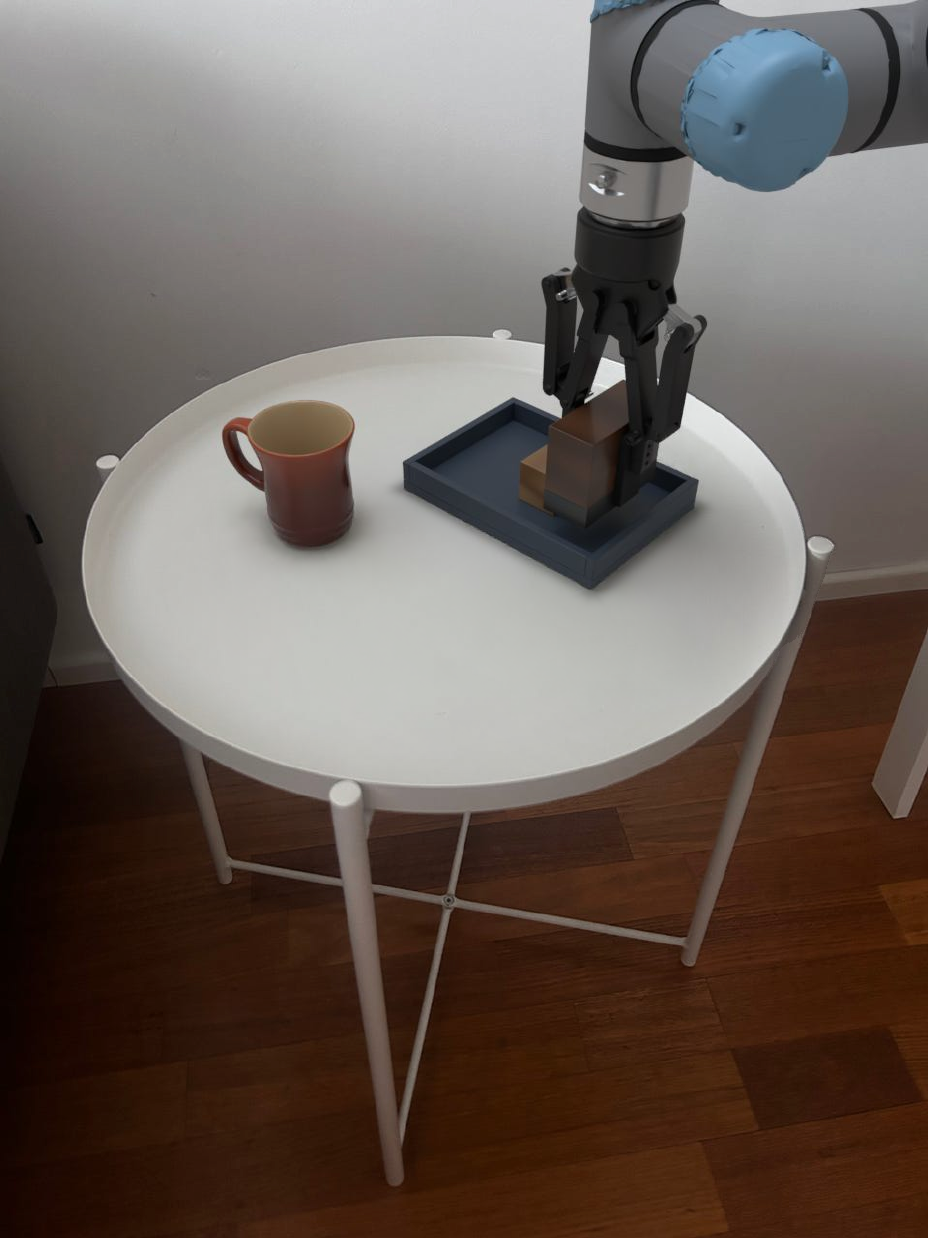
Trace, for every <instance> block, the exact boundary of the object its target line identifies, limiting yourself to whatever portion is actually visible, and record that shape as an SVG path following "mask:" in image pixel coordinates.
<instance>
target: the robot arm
mask: <svg viewBox="0 0 928 1238" xmlns="http://www.w3.org/2000/svg"><path fill="white" fill-rule="evenodd" d="M720 1H721V0H594V3H593V10H592V11H591V13H590V14H589V15H590V16H589V23H590V34H589V35H590V37H589V51H588V67H587V80H586V81H587V82H586V97H585V98H586V99H585V112H584V113H585V114H584V132H583V142H582V155H581V167H580V178H579V179H580V180H579V190H578V191H579V193H578V199H579V202H580V204H581V205H582V206H581V208H579V210H578V211H577V213H576V225H575V240H574V252H573V256H574V261H575V262H576V264H575V266H574V268H573V269H572V270H571V269H570V268H569V267H565V266H564V267H563V268H560V269H558V270H556V271H554V272H552V273H550V274H547V275H546V276H544V277H543V278H542V279H541V282H540V284H541V290H542V294H543V299H544V303H545V328H544V348H543V350H544V351H543V370H542V391H543V392H544V394H545V395H546V396H549V397H550V396H554V397H555V398H556V399H557V400H558V402H559V406H560V408H561V418H562V417H564V416H565V415H567V414H569V413H570V412H572V411H573V410H575V409H577V408H578V407H580V406H581V405H583V404H585V403H586V400H587V399H589V398H590V397H592V396H594V394H595V392H594V391H593V392H592V387H593V384H594V381H595V379H596V376H597V374H598V373H597V372H598V370H599V367H600V364H601V360H602V357H603V354H604V351H605V350H606V345H607V342H608V339H609V337H610V336H611V338H614V339H615V340H616V341H618V351H619V356H620V357H621V358H623V364H624V377H625V378H624V379H625V380H626V391H627V404H628V417H629V429H630V431H628V432H627V433H626V434H624V435H623V436H621V438H620V446H619V454H618V462H617V470H616V478H615V486H614V494H613V502H612V504H613V505H615V506H617V507H619V508H620V507H621V506H622V505H624V504H625V503H626V502H628V501H629V500H630V499H632V498H633V497H634V496H636V495H637V494H638V492H639V485H640V478H641V472H643V471H644V470H645V469H647V468H648V467H649V466H650V464H651V461H652V455H653V448H654V442H656V443H659V444H660V443H663V442H664V441H665V440H666V439H668V438H670V437H671V436H672V435H673V434H675V433H676V432H677V431H679V430H680V429H681V427H682V421H683V416H684V415H683V414H684V409H685V406H686V405H685V404H686V399H687V394H688V389H689V385H690V384H689V383H690V378H691V372H692V367H693V363H694V356H695V351H696V346H697V344H698V342H699V341H700V340H701V337H702V336H703V334H704V332H705V331H706V329H707V327H708V321H707V318H706V317H705V316H704V315H702V314H696V315H694V316H691V315H690V314H689V313H688V312H686V311H685V310H684V309H683V308H682V307H681V306H679V304H677V303H678V297H677V296H678V295H677V292H676V289H675V278H676V273H677V271H678V268H679V265H680V260H681V253H682V247H683V240H684V233H685V226H686V217H685V216H684V214H683V212H684V211H686V209H687V208H688V206H689V203H690V202H689V201H690V196H691V195H690V194H691V187H692V179H693V173H694V165H695V162H696V164H698V165H699V166H701V167H702V169H703V170H704V171H706V172H709V173H710V174H711V175H713V176H714V177H715V178H716V177H717V178H718V177H719V178H720V177H721V178H722V179H723V180H724V181H726V183H727V182H729V183H733V184H736V185H738V186H740V187H742V188H744V189H746V190H749V191H752V192H759V193H772V192H778V191H783V190H786V189H789V188H791V187H792V186H794V185H796V183H797V182H798V181H800V180H801V179H802V178H804V177H805V176H807V175H809V174H810V173H813V172H814V171H816V169H818V168H819V167H820V166H821V165H822V164H823V163H824V162H825V161H826V159H827V158H830V157H831V158H832V157H838V156H843V155H846V154H847V155H848V154H857V153H859V152H866V151H873V150H880V149H881V150H882V149H890V148H899V147H907V146H914V145H922V144H923V145H924V144H928V0H914V1H911V2H905V3H898V4H890V5H889V4H888V5H879V6H878V5H877V6H871V7H869V6H868V7H858V8H850V9H843V10H842V9H841V10H828V11H819V12H817V11H816V12H806V13H793V14H785V15H774V16H754V15H753V16H752V15H747V14H745V13H741V12H738V11H736V10H732V9H730V8H727V7H726V6H724V5H723V4H720ZM578 301H579V303H580V306H581V308H582V310H583V311H582V314H581V317H580V319H579V324H578V327H577V318H578V317H577V315H578ZM663 321H665V325H666V328H665V329H666V330H665V334H664V335H663V339H664V341H665V342H666V345H665V347H664V350H663V353H662V358H661V364H660V368H659V369H660V370H659V376H658V367H657V365H658V364H657V347H658V344H659V343H660V342H659V341H660V334H659V325H660V324H661V323H663ZM576 336H577V342H576ZM575 344H576V345H575Z"/></svg>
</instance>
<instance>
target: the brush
mask: <svg viewBox="0 0 928 1238" xmlns="http://www.w3.org/2000/svg"><path fill="white" fill-rule="evenodd" d="M560 418H561V419H559V420H558V421H556V422H554V423H553V424H551V425H550V426H549V432H548V447H547V462H546V476H545V489H544V504H543V508H544V509H546V510H548V511H550V512H552V513H553V514H555V515H557V516H559V517H561V518H563V519H565V520H567V521H569V522H571V523H573V524H575V525H577V526H579V527H581V528H583V529H586V528H588V527H589V526H590V525H592V524H593V523H594V522H596V521H597V520H598V519H600V518H601V517H602V516H604V515H605V514H606V513H608V512H609V511H610V510H612V509H613V508H615V507H616V506H615V505H613V504H612V502H613V494H614V486H615V478H616V470H617V462H618V454H619V446H620V438H621V436H623V435H624V434H626V433H627V432H628V431H630V429H629V417H628V404H627V391H626V379H625V378H624V379H621V380H619V381H618V382H616V383H614V384H612V385H611V386H610V387H608V388H606V389H605V390H603V391H602V392H600V393H599V394H597V395H596V396H593V398H591V399H590V400H587V401H585V404H583V405H581V406H580V407H578V408H577V409H575V410H573V411H572V412H570V413H569V414H567V415H565V416H564V417H562V416H561V417H560ZM659 447H660V443H656V442H654V448H653V455H652V461H651V464H650V466H649V467H648V468H647V469H645V470H644V471H643V472H641V478H640V485H639V489H640V488H641V487H643V486H644V485H645V484H647V483H648V482H649V481H651V480H652V479H653V478H654V475H655V469H656V462H657V461H658V454H659Z"/></svg>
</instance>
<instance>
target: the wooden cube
mask: <svg viewBox="0 0 928 1238" xmlns="http://www.w3.org/2000/svg"><path fill="white" fill-rule="evenodd" d="M547 447H548V444H547V445H545V446H544V447H542V448H541V449H539V450H538V451H536V452H535V453H533V454H531V455H530V456H528V457H527V458H525V459H524V460H522V461H521V464H520V485H519V499H521V500H523V501H525V502H527V503H529V504H531V505H532V506H534V507H536V508H538V509H540V510H542V511H544V512H546V513H548V514H550V515H552V516H554V515H555V514H553V513H552V512H550V511H548V510H546V509H544V508H543V504H544V489H545V476H546V462H547Z"/></svg>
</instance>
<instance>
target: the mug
mask: <svg viewBox="0 0 928 1238" xmlns="http://www.w3.org/2000/svg"><path fill="white" fill-rule="evenodd" d="M355 427H356V424H355V419H354V418H353V417H352V414H351V413H350V412H349V411H348V410H346V409H344V408H343V407H341V406H339V405H337V404H334V403H331V402H329V401H324V400H323V401H322V400H314V399H299V400H298V399H297V400H290V401H285V402H280V403H278V404H277V403H276V404H274V405H271V406H269V407H267V408H264V409H262V410H261V411H260V412H258V413H257V414H256V415H255V416H253V418H251V417H250V418H249V417H243V416H239V417H238V416H237V417H234V418H232V419H230V420H229V421H228V422H227V423H226V424H225V425H224V426H223V428H222V430H221V440H222V445H223V448H224V452H225V454H226V457H227V459H228V461H229V463H230V464H231V466H232V468H233V469H234V470H235V471H236V472H237V473H238V474H239V475H240V476H241V477H242V478H243V479H244V480H245V481H246V482H248V483H249V484H251V485H252V486H253V487H254V488H255V489H257V490H258V491H260V492H263V493H264V496H265V502H266V504H265V505H266V512H267V516H268V518H269V522H270V525H271V526H272V529H273V532H274V533H275V535H276V536H277V538H279V539H280V540H282V541H283V542H285V543H287V544H289V545H292V546H296V547H301V548H320V547H324V546H327V545H331V544H332V543H334V542H337V541H338V540H340V539H341V538H343V537H344V536H345V535H346V534H347V533H348V532H349V531H350V529H351V526H352V524H353V518H354V511H355V510H354V509H355V508H354V507H355V499H354V494H353V483H352V475H351V470H350V450H351V445H352V441H353V438H354V434H355V429H356V428H355ZM237 432H240V433H242V434H244V435H245V436H246V437H247V440H248V442H249V444H250V446H251V447H252V450H253V451H254V453H255V455H256V458H257V460H258V461H259V464H260V467H261V469H258V468H257V467H255V466H254V465H253V464H252V463H251V462H249V460H248V459H247V458H246V456H245V454H244V451H243V450H242V447H241V444H240V440H239V438H238V433H237Z"/></svg>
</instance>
